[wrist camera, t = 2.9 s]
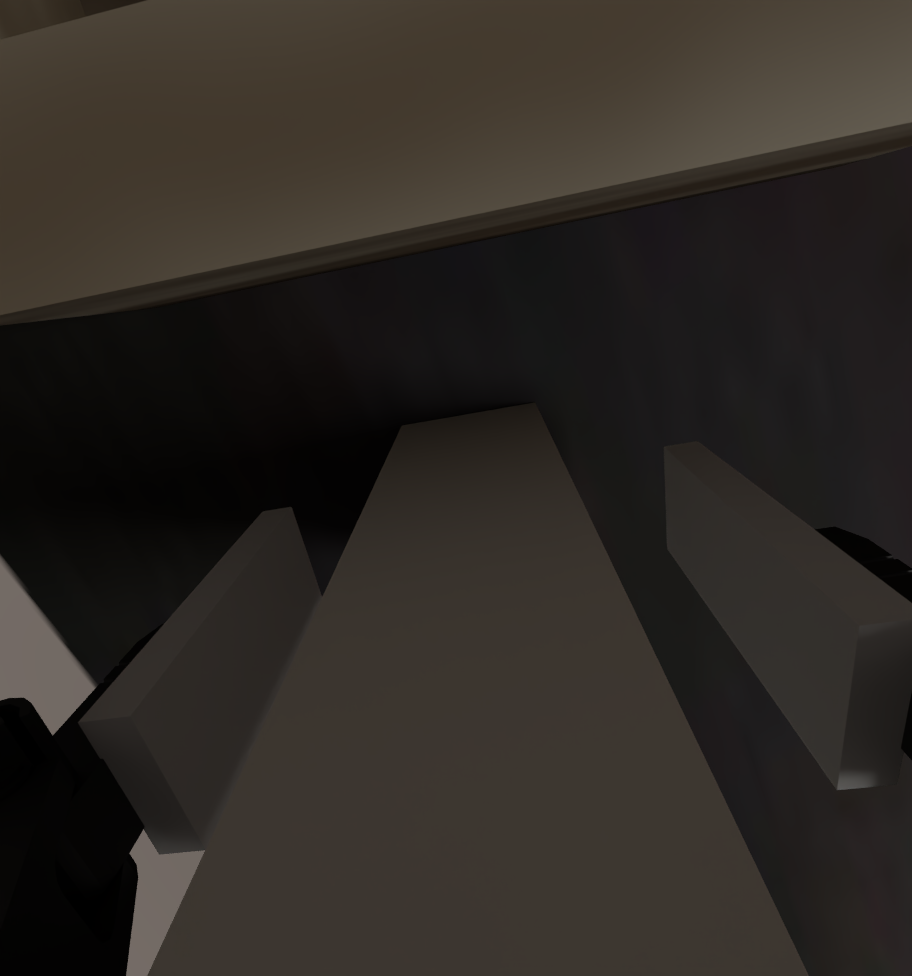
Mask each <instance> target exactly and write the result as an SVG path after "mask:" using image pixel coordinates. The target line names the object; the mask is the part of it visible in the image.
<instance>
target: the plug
mask: <svg viewBox="0 0 912 976" xmlns="http://www.w3.org/2000/svg"><path fill="white" fill-rule="evenodd" d="M148 976H809V975H808V973H807V971H806V969H805V967H804V965H803V963H802V961H801V959H800V957H799V955H798V952H797V950H796V948H795V946H794V944H793V942H792V940H791V938H790V936H789V934H788V931H787V929H786V927H785V925H784V923H783V921H782V919H781V917H780V915H779V913H778V911H777V908H776V906H775V904H774V902H773V900H772V898H771V896H770V894H769V892H768V890H767V887H766V885H765V883H764V881H763V879H762V877H761V875H760V873H759V871H758V869H757V867H756V864H755V862H754V860H753V858H752V856H751V854H750V852H749V850H748V848H747V846H746V843H745V841H744V839H743V837H742V835H741V833H740V831H739V829H738V827H737V825H736V823H735V820H734V818H733V816H732V814H731V812H730V810H729V808H728V806H727V804H726V802H725V799H724V797H723V795H722V793H721V791H720V789H719V787H718V785H717V783H716V781H715V779H714V776H713V774H712V772H711V770H710V768H709V766H708V764H707V762H706V760H705V758H704V755H703V753H702V751H701V749H700V747H699V745H698V743H697V741H696V739H695V737H694V735H693V732H692V730H691V728H690V726H689V724H688V722H687V720H686V718H685V716H684V714H683V711H682V709H681V707H680V705H679V703H678V701H677V699H676V697H675V695H674V693H673V691H672V688H671V686H670V684H669V682H668V680H667V678H666V676H665V674H664V672H663V670H662V667H661V665H660V663H659V661H658V659H657V657H656V655H655V653H654V651H653V649H652V647H651V644H650V642H649V640H648V638H647V636H646V634H645V632H644V630H643V628H642V626H641V623H640V621H639V619H638V617H637V615H636V613H635V611H634V609H633V607H632V605H631V603H630V600H629V598H628V596H627V594H626V592H625V590H624V588H623V586H622V584H621V582H620V579H619V577H618V575H617V573H616V571H615V569H614V567H613V565H612V563H611V561H610V559H609V556H608V554H607V552H606V550H605V548H604V546H603V544H602V542H601V540H600V538H599V535H598V533H597V531H596V529H595V527H594V525H593V523H592V521H591V519H590V517H589V515H588V512H587V510H586V508H585V506H584V504H583V502H582V500H581V498H580V496H579V494H578V491H577V489H576V487H575V485H574V483H573V481H572V479H571V477H570V475H569V473H568V471H567V468H566V466H565V464H564V462H563V460H562V458H561V456H560V454H559V452H558V450H557V448H556V445H555V443H554V441H553V439H552V437H551V435H550V433H549V431H548V429H547V427H546V424H545V422H544V420H543V418H542V416H541V414H540V412H539V410H538V408H537V406H536V404H535V402H534V403H529V404H523V405H517V406H511V407H506V408H500V409H494V410H488V411H483V412H477V413H471V414H465V415H460V416H454V417H448V418H442V419H437V420H431V421H425V422H419V423H414V424H408V425H402V426H401V428H400V430H399V433H398V435H397V437H396V439H395V441H394V443H393V446H392V448H391V450H390V452H389V454H388V456H387V459H386V461H385V463H384V465H383V467H382V469H381V472H380V474H379V476H378V478H377V480H376V482H375V484H374V487H373V489H372V491H371V493H370V495H369V497H368V500H367V502H366V504H365V506H364V508H363V510H362V513H361V515H360V517H359V519H358V521H357V523H356V526H355V528H354V530H353V532H352V534H351V536H350V539H349V541H348V543H347V545H346V547H345V549H344V552H343V554H342V556H341V558H340V560H339V562H338V565H337V567H336V569H335V571H334V573H333V575H332V578H331V580H330V582H329V584H328V586H327V588H326V590H325V593H324V595H323V597H322V599H321V601H320V603H319V606H318V608H317V610H316V612H315V614H314V616H313V619H312V621H311V623H310V625H309V627H308V629H307V632H306V634H305V636H304V638H303V640H302V642H301V645H300V647H299V649H298V651H297V653H296V655H295V658H294V660H293V662H292V664H291V666H290V668H289V671H288V673H287V675H286V677H285V679H284V681H283V684H282V686H281V688H280V690H279V692H278V694H277V697H276V699H275V701H274V703H273V705H272V707H271V709H270V712H269V714H268V716H267V718H266V720H265V722H264V725H263V727H262V729H261V731H260V733H259V735H258V738H257V740H256V742H255V744H254V746H253V748H252V751H251V753H250V755H249V757H248V759H247V761H246V764H245V766H244V768H243V770H242V772H241V774H240V777H239V779H238V781H237V783H236V785H235V787H234V790H233V792H232V794H231V796H230V798H229V800H228V803H227V805H226V807H225V809H224V811H223V813H222V816H221V818H220V820H219V822H218V824H217V826H216V828H215V831H214V833H213V835H212V837H211V839H210V841H209V844H208V846H207V848H206V850H205V852H204V854H203V857H202V859H201V861H200V863H199V865H198V867H197V870H196V872H195V874H194V876H193V878H192V880H191V883H190V885H189V887H188V889H187V891H186V894H185V896H184V898H183V900H182V902H181V904H180V907H179V909H178V911H177V913H176V915H175V917H174V920H173V922H172V924H171V926H170V928H169V930H168V932H167V935H166V937H165V939H164V941H163V943H162V945H161V947H160V950H159V952H158V954H157V956H156V958H155V960H154V963H153V965H152V967H151V969H150V971H149V974H148Z"/></svg>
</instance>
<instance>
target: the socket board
mask: <svg viewBox="0 0 912 976" xmlns="http://www.w3.org/2000/svg"><path fill="white" fill-rule="evenodd" d="M909 146H912V0H0V325H8V324H16V323H25V322H34V321H43V320H52V319H60V318H69V317H78V316H87V315H96V314H105V313H113V312H122V311H131V310H140V309H149V308H157V307H161V306H166V305H171V304H176V303H181V302H186V301H191V300H195V299H200V298H205V297H210V296H215V295H220V294H224V293H229V292H234V291H239V290H244V289H249V288H253V287H258V286H263V285H268V284H273V283H278V282H283V281H287V280H292V279H297V278H302V277H307V276H312V275H316V274H321V273H326V272H331V271H336V270H341V269H345V268H350V267H355V266H360V265H365V264H370V263H375V262H379V261H384V260H389V259H394V258H399V257H404V256H408V255H413V254H418V253H423V252H428V251H433V250H437V249H442V248H447V247H452V246H457V245H462V244H466V243H471V242H476V241H481V240H486V239H491V238H496V237H500V236H505V235H510V234H515V233H520V232H525V231H529V230H534V229H539V228H544V227H549V226H554V225H558V224H563V223H568V222H573V221H578V220H583V219H588V218H592V217H597V216H602V215H607V214H612V213H617V212H621V211H626V210H631V209H636V208H641V207H646V206H650V205H655V204H660V203H665V202H670V201H675V200H680V199H684V198H689V197H694V196H699V195H704V194H709V193H713V192H718V191H723V190H728V189H733V188H738V187H742V186H747V185H752V184H757V183H762V182H767V181H772V180H776V179H781V178H786V177H791V176H796V175H801V174H805V173H810V172H815V171H820V170H825V169H830V168H834V167H839V166H843V165H846V164H850V163H853V162H857V161H860V160H864V159H867V158H871V157H874V156H878V155H881V154H885V153H888V152H892V151H895V150H899V149H902V148H905V147H909Z"/></svg>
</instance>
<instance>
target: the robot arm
mask: <svg viewBox="0 0 912 976" xmlns="http://www.w3.org/2000/svg"><path fill="white" fill-rule="evenodd" d="M664 467H665V497H666V526H667V549H668V550H669V552H670V553H671V555H672V556H673V557H674V559H675V560H676V562H677V563H678V565H679V566H680V567H681V569H682V570H683V572H684V573H685V574H686V576H687V577H688V579H689V580H690V582H691V583H692V584H693V586H694V587H695V589H696V590H697V592H698V593H699V594H700V596H701V597H702V599H703V600H704V602H705V603H706V604H707V606H708V607H709V609H710V610H711V611H712V613H713V614H714V616H715V617H716V619H717V620H718V621H719V623H720V624H721V626H722V627H723V629H724V630H725V631H726V633H727V634H728V636H729V637H730V639H731V640H732V641H733V643H734V644H735V646H736V647H737V648H738V650H739V651H740V653H741V654H742V656H743V657H744V658H745V660H746V661H747V663H748V664H749V666H750V667H751V668H752V670H753V671H754V673H755V674H756V676H757V677H758V678H759V680H760V681H761V683H762V684H763V685H764V687H765V688H766V690H767V691H768V693H769V694H770V695H771V697H772V698H773V700H774V701H775V703H776V704H777V705H778V707H779V708H780V710H781V711H782V713H783V714H784V715H785V717H786V718H787V720H788V721H789V722H790V724H791V725H792V727H793V728H794V730H795V731H796V732H797V734H798V735H799V737H800V738H801V740H802V741H803V742H804V744H805V745H806V747H807V748H808V750H809V751H810V752H811V754H812V755H813V757H814V758H815V759H816V761H817V762H818V764H819V765H820V767H821V768H822V769H823V771H824V772H825V774H826V775H827V777H828V778H829V779H830V781H831V782H832V784H833V785H834V787H835V788H836V789H837V790H843V789H854V788H864V787H875V786H885V785H896V784H897V783H898V777H899V772H900V767H901V762H902V757H903V752H905V753H906V754H907V756H908V757H909V758H910V759H911V760H912V568H910V567H909V566H907V565H906V564H904V563H903V562H901V561H900V560H898V559H893V556H892V555H891V554H889V553H888V552H886V551H885V550H884V549H882V548H881V547H879V546H878V545H876V544H875V543H873V542H872V541H870V540H869V539H867V538H864V537H861V536H859V535H856V534H853V533H851V532H848V531H845V530H842V529H840V528H837V527H829V528H822V529H815V530H814V529H813V528H812V527H810V526H809V525H808V524H806V523H805V522H804V521H802V520H801V519H800V518H798V517H797V516H796V515H794V514H793V513H792V512H791V511H789V510H788V509H787V508H785V507H784V506H783V505H781V504H780V503H779V502H777V501H776V500H775V499H773V498H772V497H771V496H769V495H768V494H767V493H765V492H764V491H763V490H761V489H760V488H759V487H757V486H756V485H755V484H753V483H752V482H751V481H749V480H748V479H747V478H745V477H744V476H743V475H741V474H740V473H739V472H738V471H736V470H735V469H734V468H732V467H731V466H730V465H728V464H727V463H726V462H724V461H723V460H722V459H720V458H719V457H718V456H716V455H715V454H714V453H712V452H711V451H710V450H708V449H707V448H706V447H704V446H703V445H702V444H700V443H699V442H698V441H696V442H690V443H683V444H677V445H671V446H665V447H664ZM321 599H322V596H321V593H320V590H319V587H318V584H317V581H316V578H315V575H314V572H313V569H312V566H311V563H310V560H309V557H308V554H307V551H306V548H305V545H304V542H303V539H302V537H301V534H300V531H299V528H298V525H297V522H296V519H295V516H294V513H293V510H292V507H287V508H281V509H275V510H269V511H263V512H262V513H261V514H260V515H259V516H258V517H257V518H256V520H255V521H254V522H253V523H252V524H251V525H250V526H249V528H248V529H247V530H246V531H245V532H244V533H243V534H242V536H241V537H240V538H239V539H238V540H237V541H236V542H235V544H234V545H233V546H232V547H231V548H230V549H229V550H228V552H227V553H226V554H225V555H224V556H223V557H222V558H221V560H220V561H219V562H218V563H217V564H216V565H215V566H214V568H213V569H212V570H211V571H210V572H209V573H208V574H207V576H206V577H205V578H204V579H203V580H202V581H201V582H200V584H199V585H198V586H197V587H196V588H195V589H194V590H193V592H192V593H191V594H190V595H189V596H188V597H187V598H186V600H185V601H184V602H183V603H182V604H181V605H180V606H179V608H178V609H177V610H176V611H175V612H174V613H173V614H172V616H171V617H170V618H169V619H168V620H167V621H166V622H165V624H162V625H160V626H159V627H157V628H156V629H155V630H153V631H152V632H151V633H149V634H148V635H147V636H145V637H144V638H143V639H141V640H140V641H138V642H137V643H136V644H135V645H134V646H133V648H132V649H131V650H130V651H129V652H128V653H127V654H126V655H125V656H124V658H123V659H122V660H121V661H120V662H119V666H115V667H114V669H113V670H112V671H111V672H110V673H109V674H108V675H107V676H106V677H105V679H104V683H101V684H99V685H98V686H97V687H96V688H95V690H94V691H93V692H92V693H91V694H90V695H89V696H88V698H86V700H85V701H84V702H83V703H82V704H81V705H80V706H79V707H78V708H77V709H76V711H75V712H74V713H73V714H72V715H71V716H70V717H69V718H68V720H67V721H66V722H65V723H64V724H63V725H62V726H61V727H60V728H59V730H58V731H57V732H56V733H55V734H54V735H53V736H52V734H51V733H50V731H49V730H48V728H47V726H46V725H45V723H44V722H43V720H42V719H41V717H40V716H39V714H38V713H37V711H36V710H35V708H34V706H33V705H32V703H31V702H29V701H28V700H26V699H25V698H8V699H5V700H1V701H0V976H126V971H127V963H128V955H129V947H130V939H131V930H132V923H133V913H134V905H135V898H136V890H137V882H138V873H137V865H136V863H135V862H134V860H133V859H132V857H131V855H130V854H129V853H130V851H131V849H132V848H133V846H134V844H135V843H136V841H137V839H138V837H139V836H140V834H141V832H142V831H143V829H144V830H145V832H146V833H147V835H148V837H149V839H150V840H151V842H152V843H153V845H154V847H155V848H156V850H157V852H158V853H159V854H169V853H180V852H190V851H201V850H206V848H207V846H208V844H209V841H210V839H211V837H212V835H213V833H214V831H215V828H216V826H217V824H218V822H219V820H220V818H221V816H222V813H223V811H224V809H225V807H226V805H227V803H228V800H229V798H230V796H231V794H232V792H233V790H234V787H235V785H236V783H237V781H238V779H239V777H240V774H241V772H242V770H243V768H244V766H245V764H246V761H247V759H248V757H249V755H250V753H251V751H252V748H253V746H254V744H255V742H256V740H257V738H258V735H259V733H260V731H261V729H262V727H263V725H264V722H265V720H266V718H267V716H268V714H269V712H270V709H271V707H272V705H273V703H274V701H275V699H276V697H277V694H278V692H279V690H280V688H281V686H282V684H283V681H284V679H285V677H286V675H287V673H288V671H289V668H290V666H291V664H292V662H293V660H294V658H295V655H296V653H297V651H298V649H299V647H300V645H301V642H302V640H303V638H304V636H305V634H306V632H307V629H308V627H309V625H310V623H311V621H312V619H313V616H314V614H315V612H316V610H317V608H318V606H319V603H320V601H321Z"/></svg>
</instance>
